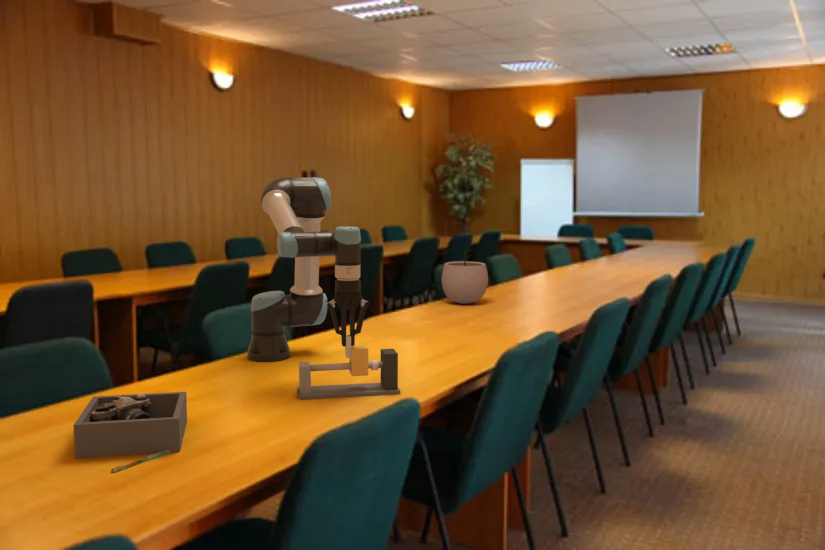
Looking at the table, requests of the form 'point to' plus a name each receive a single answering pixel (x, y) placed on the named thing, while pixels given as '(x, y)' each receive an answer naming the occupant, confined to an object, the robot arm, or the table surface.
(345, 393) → the rail
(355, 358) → the sleeve
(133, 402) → the camera
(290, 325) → the robot arm
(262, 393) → the table surface
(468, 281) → the plant pot
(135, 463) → the pencil
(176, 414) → the open storage box
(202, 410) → the table surface
